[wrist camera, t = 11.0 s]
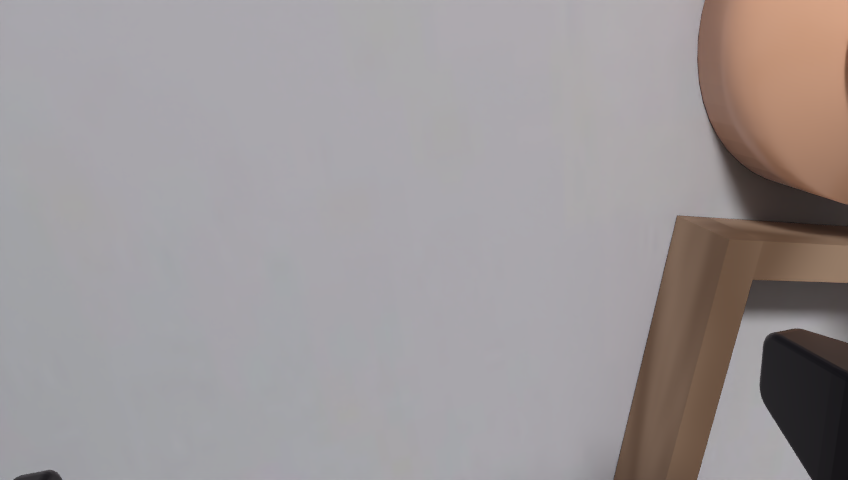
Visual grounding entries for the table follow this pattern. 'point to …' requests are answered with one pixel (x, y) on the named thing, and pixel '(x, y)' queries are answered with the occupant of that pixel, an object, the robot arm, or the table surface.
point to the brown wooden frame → (710, 330)
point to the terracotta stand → (780, 88)
